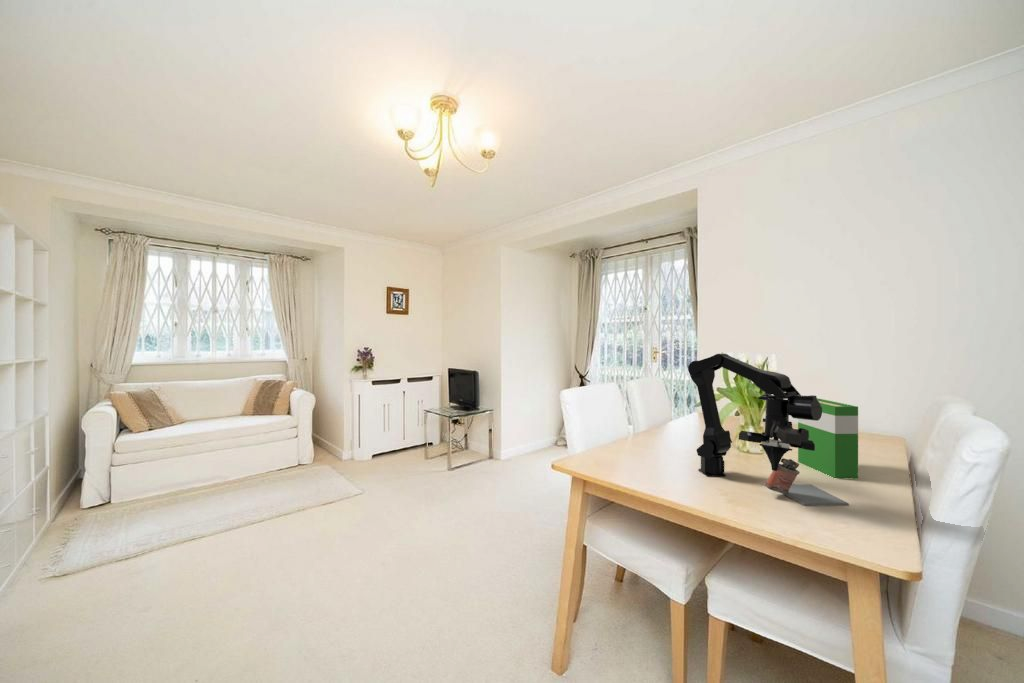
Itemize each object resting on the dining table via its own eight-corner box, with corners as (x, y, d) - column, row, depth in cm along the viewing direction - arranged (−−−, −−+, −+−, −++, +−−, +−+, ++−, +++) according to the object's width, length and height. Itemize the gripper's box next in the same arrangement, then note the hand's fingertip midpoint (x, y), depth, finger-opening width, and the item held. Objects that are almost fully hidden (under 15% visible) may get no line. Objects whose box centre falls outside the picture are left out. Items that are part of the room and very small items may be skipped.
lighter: (781, 488, 119) (796, 459, 117) (790, 495, 115) (807, 466, 113) (761, 483, 116) (776, 454, 114) (770, 490, 113) (786, 460, 111)
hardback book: (798, 461, 147) (798, 398, 147) (818, 462, 146) (818, 398, 146) (835, 478, 129) (835, 406, 129) (858, 478, 129) (858, 406, 129)
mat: (803, 505, 109) (803, 503, 109) (770, 486, 123) (770, 484, 123) (848, 505, 109) (848, 503, 109) (810, 486, 123) (810, 484, 123)
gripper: (760, 413, 108) (757, 470, 106) (830, 422, 107) (829, 481, 105) (739, 411, 119) (736, 464, 117) (802, 420, 118) (800, 473, 116)
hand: (774, 470), depth 113 cm, fingers closed, pressing on lighter
